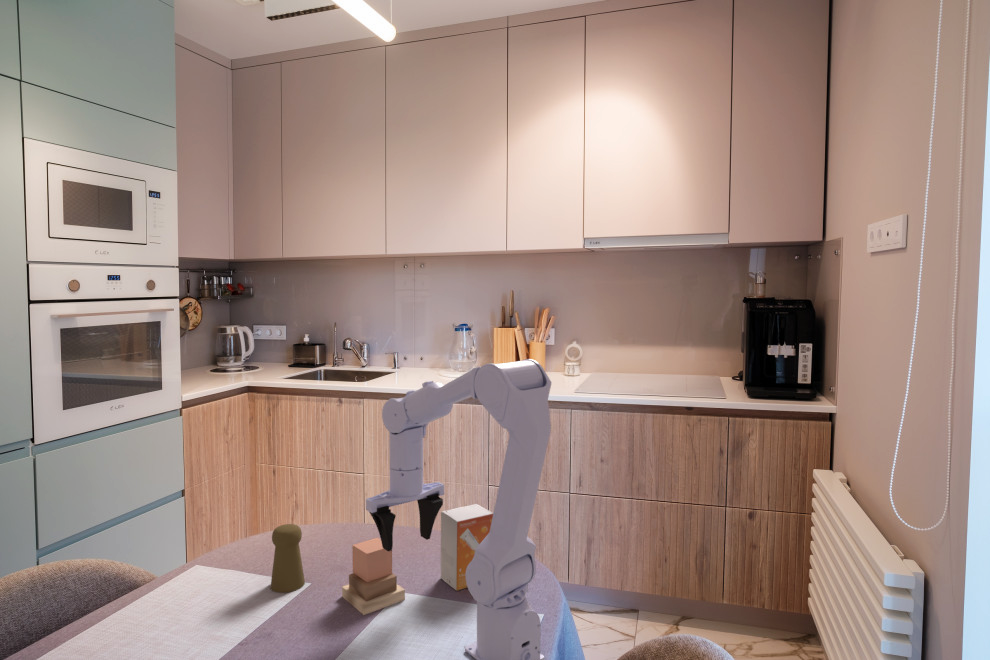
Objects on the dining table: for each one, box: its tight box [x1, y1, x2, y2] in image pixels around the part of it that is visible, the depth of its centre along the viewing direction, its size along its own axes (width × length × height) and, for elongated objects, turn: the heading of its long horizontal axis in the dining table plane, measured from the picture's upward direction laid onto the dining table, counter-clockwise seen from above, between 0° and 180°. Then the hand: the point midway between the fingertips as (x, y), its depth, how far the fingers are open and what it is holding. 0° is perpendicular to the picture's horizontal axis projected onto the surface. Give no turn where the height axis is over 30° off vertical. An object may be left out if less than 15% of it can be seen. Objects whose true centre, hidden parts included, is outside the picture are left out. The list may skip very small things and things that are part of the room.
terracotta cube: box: [351, 537, 393, 582], centre depth 106 cm, size 5×5×5 cm
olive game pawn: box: [269, 523, 306, 594], centre depth 110 cm, size 6×6×11 cm
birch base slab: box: [341, 583, 406, 616], centre depth 106 cm, size 8×8×2 cm
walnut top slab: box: [348, 572, 398, 601], centre depth 105 cm, size 6×6×2 cm
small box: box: [440, 503, 494, 592], centre depth 113 cm, size 8×6×13 cm
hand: (406, 543), depth 104 cm, fingers open, 7 cm apart
